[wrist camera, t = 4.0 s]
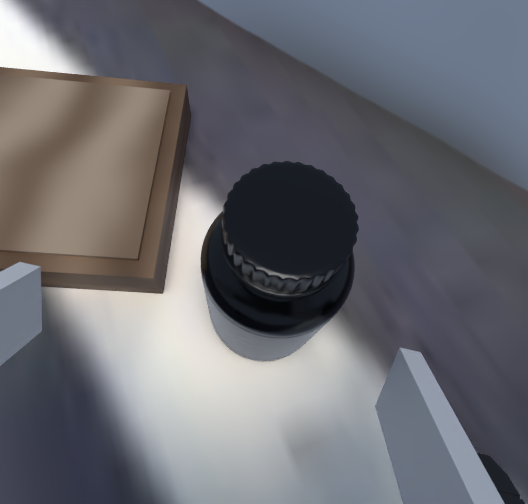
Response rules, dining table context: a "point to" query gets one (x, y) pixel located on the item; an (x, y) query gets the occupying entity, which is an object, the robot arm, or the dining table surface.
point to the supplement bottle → (279, 259)
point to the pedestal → (90, 177)
